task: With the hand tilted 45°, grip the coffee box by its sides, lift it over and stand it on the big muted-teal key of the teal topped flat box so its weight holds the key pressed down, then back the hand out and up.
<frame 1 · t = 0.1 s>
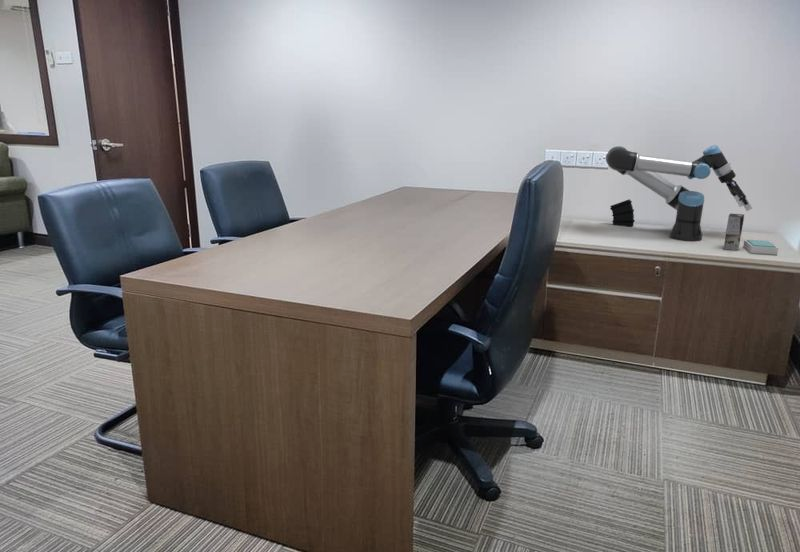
hand: (746, 207, 308), 15 cm above the table, tool tilted 35°, fingers open, 13 cm apart
coffee box: (731, 248, 287), on the table
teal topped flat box: (759, 251, 281), on the table
black ridged block: (620, 225, 338), on the table
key: (760, 244, 280), point 3 cm above the table, slide at 0.0 cm
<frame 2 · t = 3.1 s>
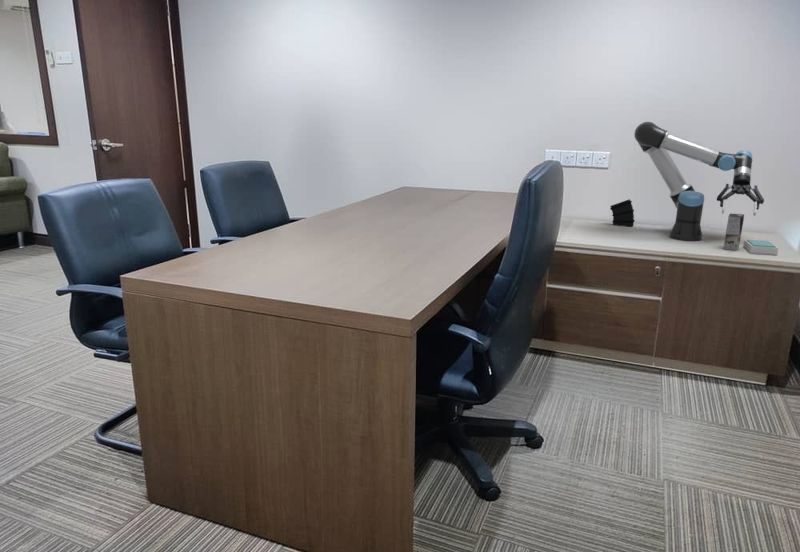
hand: (738, 213, 289), 16 cm above the table, tool tilted 45°, fingers open, 13 cm apart
nothing on the table moved.
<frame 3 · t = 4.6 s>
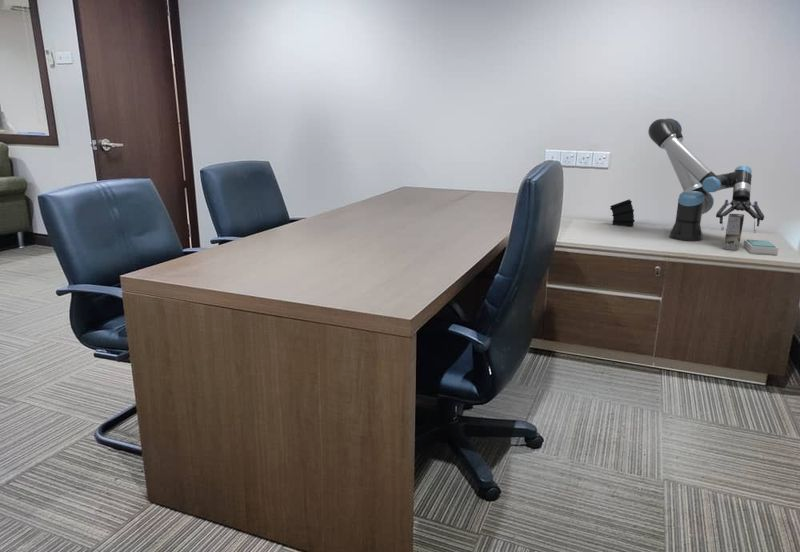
hand: (738, 230, 283), 9 cm above the table, tool tilted 45°, fingers open, 13 cm apart
nothing on the table moved.
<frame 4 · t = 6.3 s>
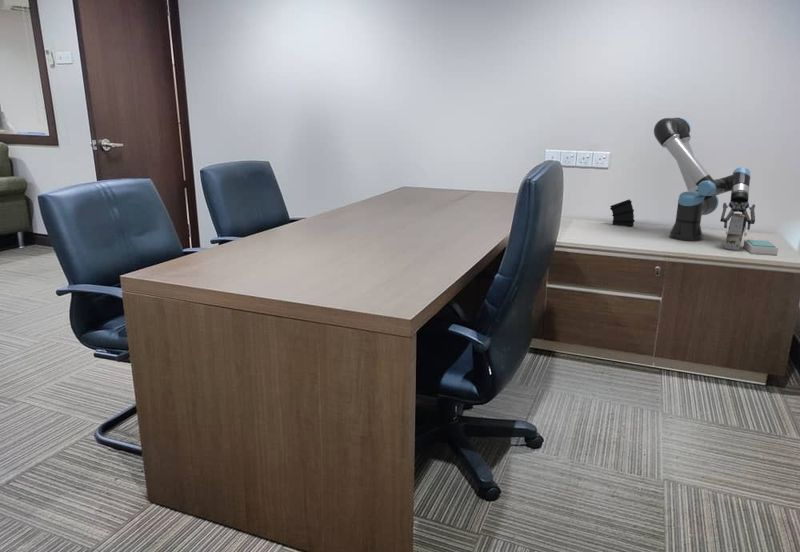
hand: (736, 233, 280), 8 cm above the table, tool tilted 45°, fingers closed on coffee box, 7 cm apart
coffee box: (731, 248, 286), on the table, touching gripper
everything else where it was.
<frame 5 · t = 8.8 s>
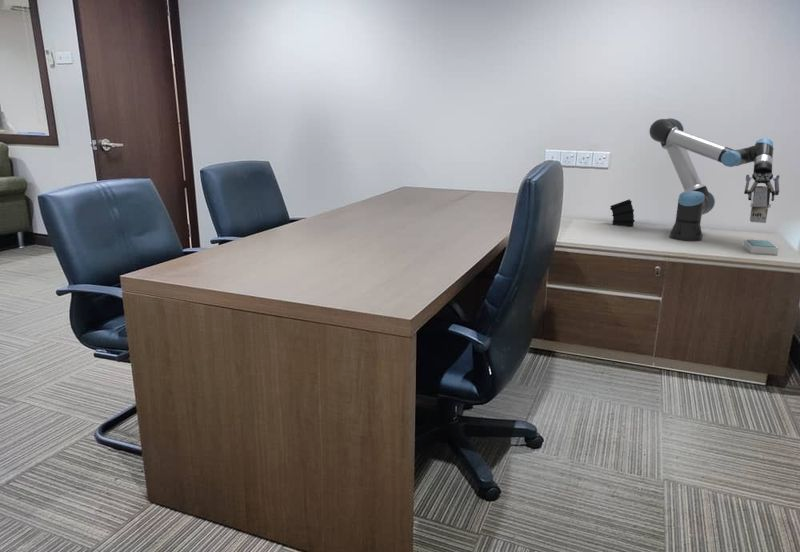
hand: (760, 205, 273), 22 cm above the table, tool tilted 45°, fingers closed on coffee box, 6 cm apart
coffee box: (757, 221, 278), point 14 cm above the table, touching gripper
everything else where it was.
when the fingers open (12 cm above the table, at t = 11.4 s): coffee box drops 1 cm, resting on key.
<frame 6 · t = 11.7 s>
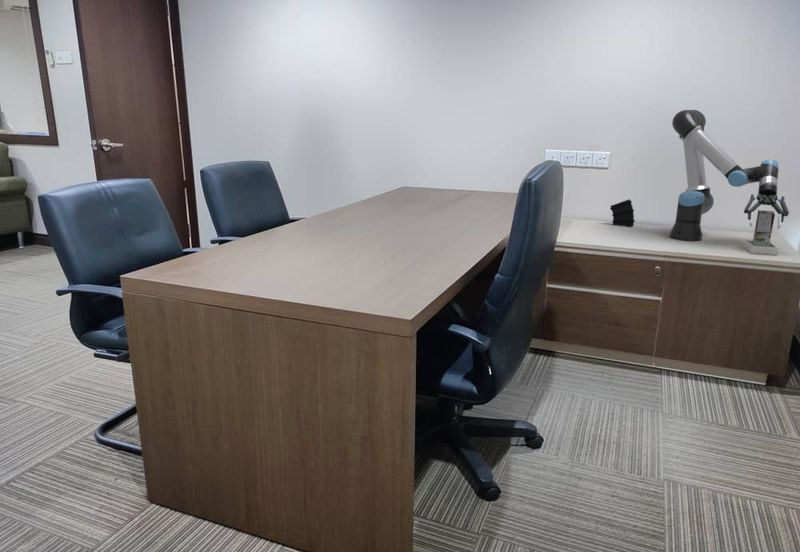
hand: (764, 226, 275), 13 cm above the table, tool tilted 45°, fingers open, 10 cm apart
coffee box: (760, 246, 280), point 2 cm above the table, touching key
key: (760, 247, 280), point 2 cm above the table, slide at 1.4 cm, touching coffee box
everything else where it was.
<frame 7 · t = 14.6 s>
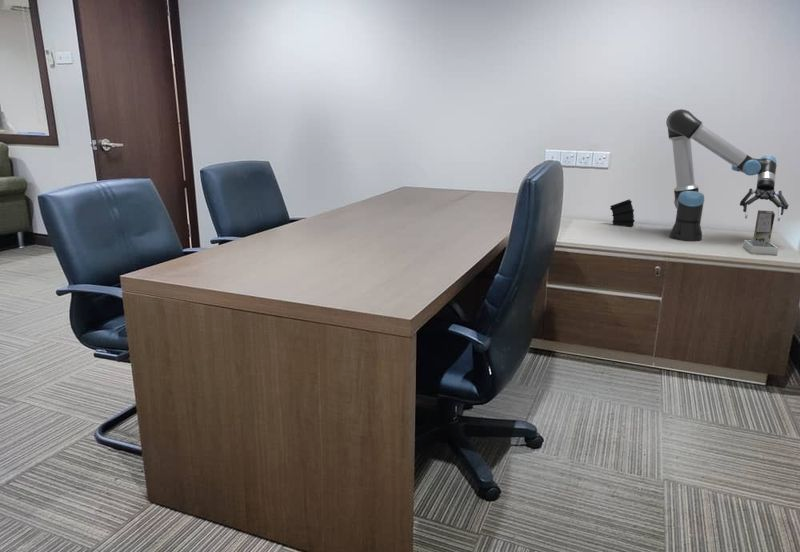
hand: (762, 218, 286), 14 cm above the table, tool tilted 45°, fingers open, 13 cm apart
nothing on the table moved.
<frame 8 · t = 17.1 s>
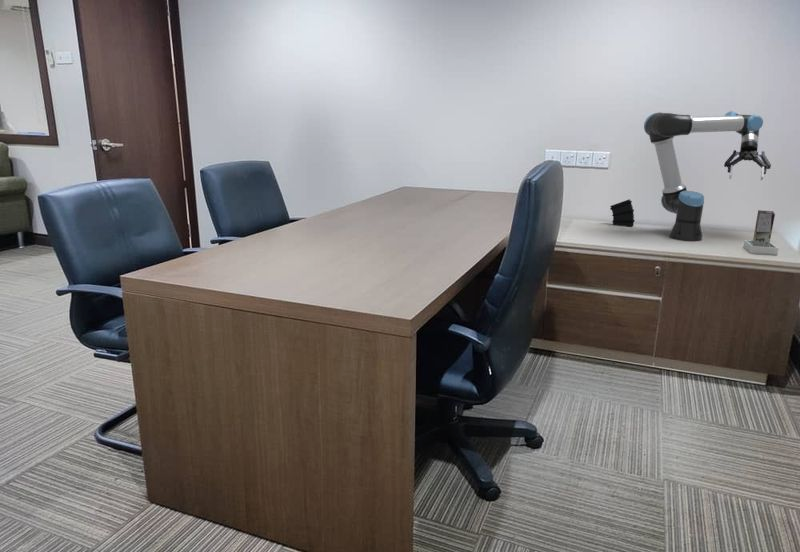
hand: (746, 177, 294), 32 cm above the table, tool tilted 45°, fingers open, 13 cm apart
nothing on the table moved.
at the end: coffee box 0.3 cm off-centre on the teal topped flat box, point 2.4 cm above the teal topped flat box's base; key slide at 1.4 cm; coffee box tilted 0° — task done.
